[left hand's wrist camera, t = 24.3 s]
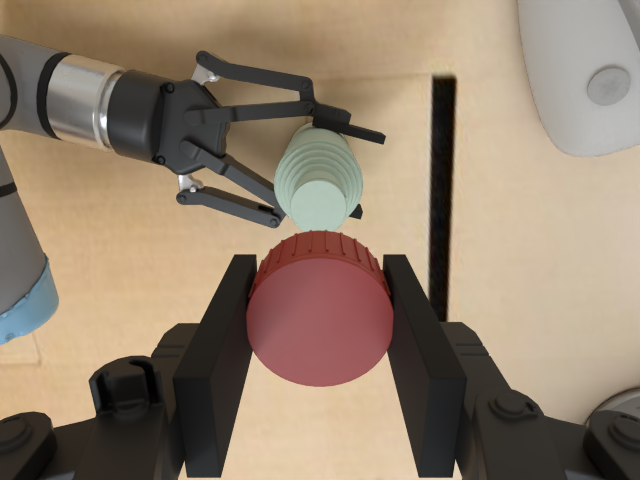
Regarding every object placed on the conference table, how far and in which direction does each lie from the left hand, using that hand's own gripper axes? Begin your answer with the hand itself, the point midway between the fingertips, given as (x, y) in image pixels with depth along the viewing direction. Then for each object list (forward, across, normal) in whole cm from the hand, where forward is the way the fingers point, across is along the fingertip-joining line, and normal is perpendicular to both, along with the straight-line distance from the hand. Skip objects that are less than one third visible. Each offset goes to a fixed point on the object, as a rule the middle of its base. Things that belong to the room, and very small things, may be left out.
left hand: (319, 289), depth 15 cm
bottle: (+31, 0, 0) cm, 31 cm away
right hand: (+25, -5, +1) cm, 26 cm away
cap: (-2, 0, 0) cm, 2 cm away
